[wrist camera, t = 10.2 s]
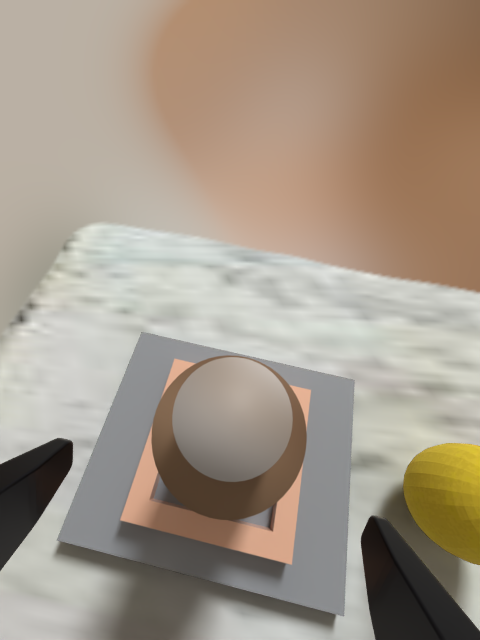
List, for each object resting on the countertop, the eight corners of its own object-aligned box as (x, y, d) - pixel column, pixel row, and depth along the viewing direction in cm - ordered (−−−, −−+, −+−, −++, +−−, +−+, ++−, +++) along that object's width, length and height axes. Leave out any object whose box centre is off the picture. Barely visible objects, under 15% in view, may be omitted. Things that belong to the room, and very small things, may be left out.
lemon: (385, 541, 18) (491, 587, 11) (375, 443, 21) (456, 429, 14) (475, 551, 18) (639, 603, 11) (455, 452, 21) (577, 443, 14)
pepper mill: (226, 517, 17) (238, 600, 6) (168, 453, 19) (86, 419, 7) (280, 449, 19) (370, 409, 8) (224, 395, 21) (229, 294, 9)
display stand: (337, 608, 17) (353, 627, 15) (65, 536, 17) (45, 545, 15) (349, 383, 22) (361, 375, 21) (144, 337, 23) (137, 324, 21)
